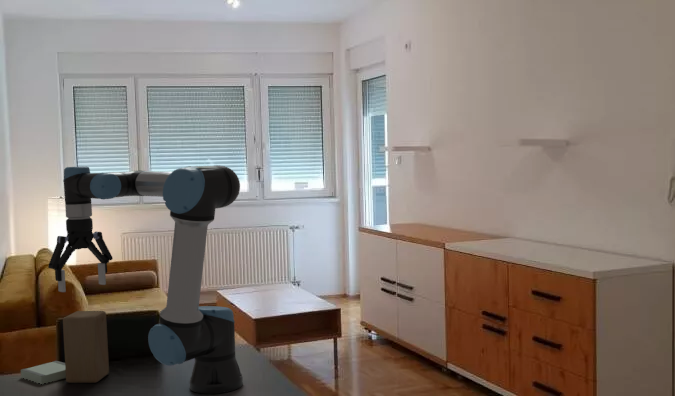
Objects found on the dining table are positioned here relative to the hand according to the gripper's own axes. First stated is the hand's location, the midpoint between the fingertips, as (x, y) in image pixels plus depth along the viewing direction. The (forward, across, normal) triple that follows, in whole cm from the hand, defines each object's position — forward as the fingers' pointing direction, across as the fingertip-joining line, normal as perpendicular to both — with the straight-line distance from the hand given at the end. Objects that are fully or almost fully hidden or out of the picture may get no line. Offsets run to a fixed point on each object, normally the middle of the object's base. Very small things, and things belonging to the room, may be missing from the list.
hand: (82, 288), depth 230 cm
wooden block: (+28, 0, 0) cm, 28 cm away
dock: (+28, +6, -12) cm, 31 cm away
